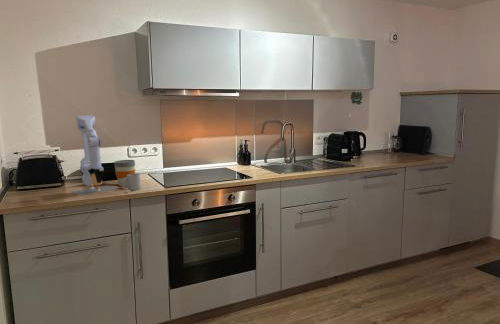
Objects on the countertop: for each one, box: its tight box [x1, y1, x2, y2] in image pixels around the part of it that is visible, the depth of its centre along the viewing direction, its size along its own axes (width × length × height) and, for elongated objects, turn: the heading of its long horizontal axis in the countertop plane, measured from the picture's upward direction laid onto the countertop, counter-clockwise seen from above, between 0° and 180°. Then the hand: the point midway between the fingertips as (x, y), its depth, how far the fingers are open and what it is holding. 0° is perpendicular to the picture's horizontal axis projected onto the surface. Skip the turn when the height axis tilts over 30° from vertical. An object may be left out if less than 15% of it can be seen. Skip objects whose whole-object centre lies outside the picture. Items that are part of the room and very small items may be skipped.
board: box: [71, 184, 119, 197], centre depth 213 cm, size 14×22×4 cm, turn 137°
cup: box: [122, 173, 142, 192], centre depth 219 cm, size 7×10×9 cm
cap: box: [91, 173, 103, 186], centre depth 209 cm, size 5×5×6 cm
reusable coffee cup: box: [114, 159, 136, 187], centre depth 233 cm, size 13×13×15 cm
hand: (97, 182), depth 209 cm, fingers closed on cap, 5 cm apart
